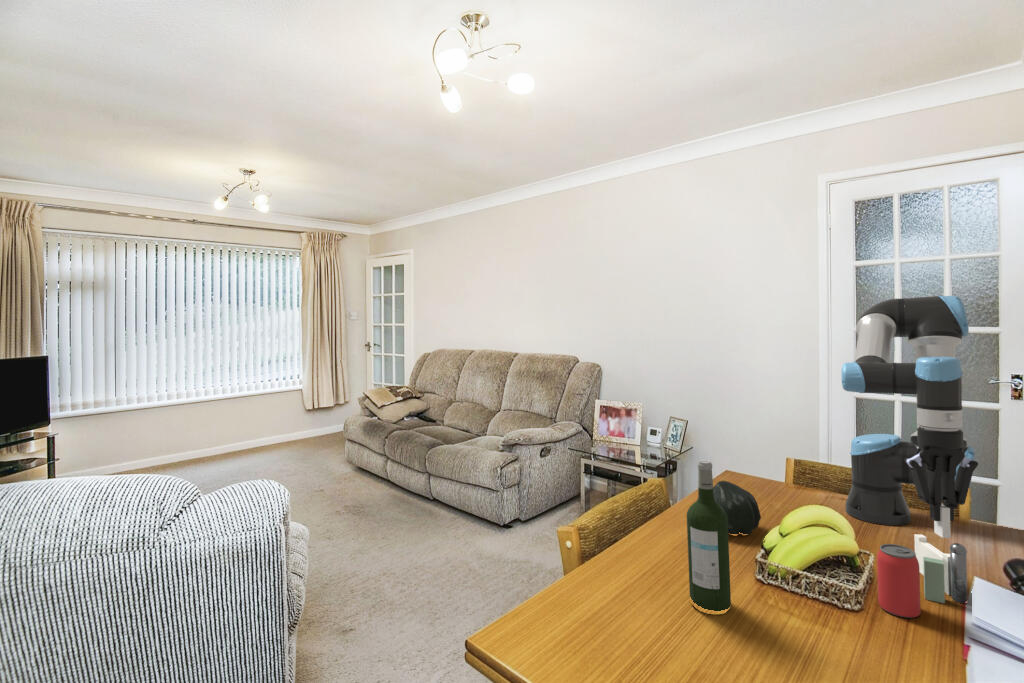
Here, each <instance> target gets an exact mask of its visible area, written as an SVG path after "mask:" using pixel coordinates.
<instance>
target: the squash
mask: <svg viewBox="0 0 1024 683" xmlns="http://www.w3.org/2000/svg"><path fill="white" fill-rule="evenodd" d="M713 491H714V499H715V502H716V503H717V504H719V505H720V506H721V507H722V508H723V509H724V511H725V513H726V514H727V517H728V533H730V534H738V535H740V534H739V532H740V533H743V534H750V535H751V534H752V532H753V530H755V529H757V528H758V527H759V525H760V521H761V518H762V516H761V512H760V509H759V505H758V502H757V500H756V498H755V496H754V495H753V494H752V493H751V492H750V491H747V490H746V489H744V488H742V487H740V486H739V485H737V484H734V483H732V482H731V481H730V482H729V481H726V480H719V481H718V482H717V483H716V484H715V485H713Z"/></svg>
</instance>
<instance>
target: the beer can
mask: <svg viewBox="0 0 1024 683" xmlns="http://www.w3.org/2000/svg"><path fill="white" fill-rule="evenodd" d="M876 565H877V566H876V568H877V569H876V570H877V571H876V572H877V599H878V605H879V606H880V607H881V608H882V609H883V611H885V612H888V613H890V614H891V615H893V616H897V617H900V618H907V619H913V618H917V617H919V616H920V615H921V612H922V611H921V580H920V578H921V577H920V575H921V573H920V572H919V562H918V560H917V558H916V553H915V550H913V549H911V548H908V547H906V546H903V545H898V544H895V543H894V544H891V543H885V544H881V545H880V546H879V550H878V553H877V555H876Z"/></svg>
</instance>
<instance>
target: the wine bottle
mask: <svg viewBox="0 0 1024 683" xmlns="http://www.w3.org/2000/svg"><path fill="white" fill-rule="evenodd" d="M712 469H713V464H712V461H711V460H708V459H700V460H698V462H697V470H698V472H697V473H698V475H697V476H698V484H697V485H698V486H697V487H698V492H697V493H698V495H697V496H698V497H697V500H696V501H695V502H694V503H692V504H691V505H690V506H689V507H688V509H687V512H686V530H687V531H686V532H687V560H688V582H689V598H690V597H691V599H692V600H693V602H694V603H696V604H697V605H698V606H701V607H702V608H704V609H708V610H714V611H721V610H725V609H728V608H729V607H730V605H731V606H732V602H731V601H732V600H731V572H730V547H729V546H730V545H729V534H728V517H727V514H726V513H725V511H724V509H723V508H722V507H721V506H720V505H719V504H717V503H716V502H715V499H714V491H713V487H714V480H713V479H714V478H713V470H712Z"/></svg>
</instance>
